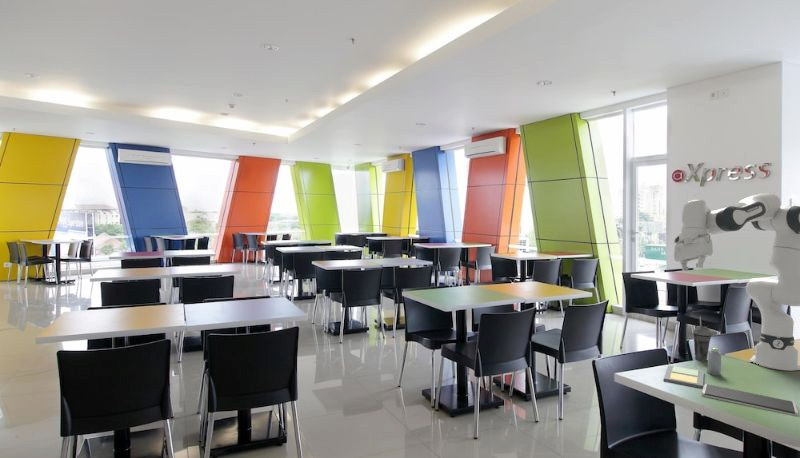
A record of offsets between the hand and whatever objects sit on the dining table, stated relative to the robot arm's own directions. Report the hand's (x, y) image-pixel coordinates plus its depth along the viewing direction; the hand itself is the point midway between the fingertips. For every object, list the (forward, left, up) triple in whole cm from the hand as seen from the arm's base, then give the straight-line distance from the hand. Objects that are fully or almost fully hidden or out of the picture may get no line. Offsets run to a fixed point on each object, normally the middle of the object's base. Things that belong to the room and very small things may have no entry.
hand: (692, 269), depth 193 cm
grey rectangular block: (-10, +9, -44) cm, 46 cm away
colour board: (+4, -1, -44) cm, 44 cm away
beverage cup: (-32, +4, -44) cm, 54 cm away
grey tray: (+19, +19, -44) cm, 52 cm away
